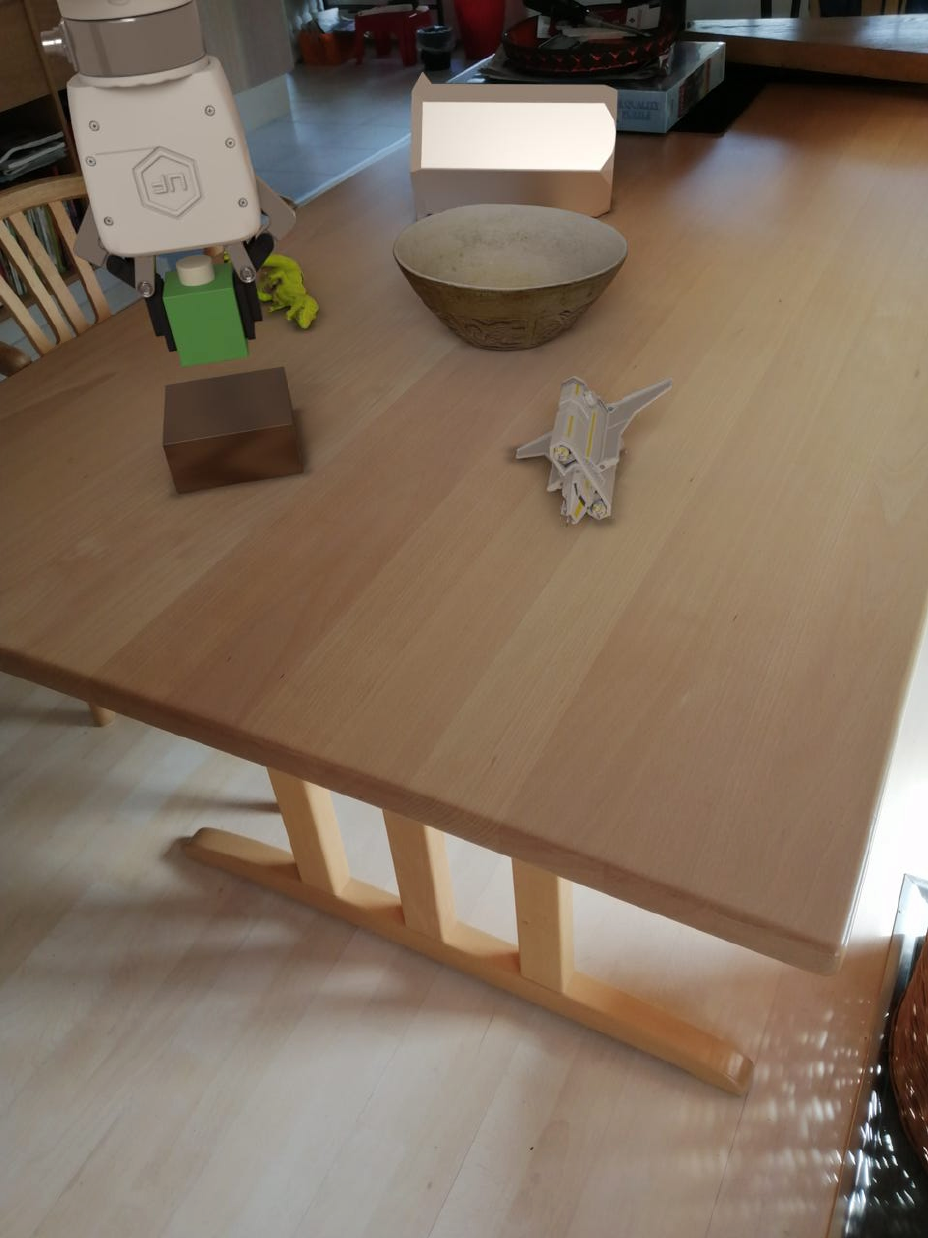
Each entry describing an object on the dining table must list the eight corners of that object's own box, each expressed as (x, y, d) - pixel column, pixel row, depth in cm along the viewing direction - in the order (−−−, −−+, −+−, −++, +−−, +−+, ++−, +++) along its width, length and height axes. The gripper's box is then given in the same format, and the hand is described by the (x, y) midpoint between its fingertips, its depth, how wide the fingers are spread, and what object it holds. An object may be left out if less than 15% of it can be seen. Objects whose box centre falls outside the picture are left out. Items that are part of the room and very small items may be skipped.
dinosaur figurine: (190, 290, 122) (177, 239, 118) (265, 267, 126) (255, 216, 122) (264, 344, 109) (252, 288, 105) (345, 316, 113) (337, 262, 109)
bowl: (639, 287, 113) (643, 196, 106) (606, 389, 96) (608, 288, 89) (439, 280, 119) (431, 193, 112) (374, 375, 102) (361, 278, 95)
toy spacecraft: (541, 479, 91) (694, 411, 84) (518, 588, 80) (692, 521, 73) (494, 410, 87) (650, 333, 80) (463, 515, 76) (641, 436, 69)
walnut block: (177, 494, 87) (162, 444, 84) (179, 432, 96) (165, 384, 92) (302, 472, 88) (292, 423, 85) (293, 413, 97) (284, 365, 93)
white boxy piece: (422, 249, 137) (404, 143, 119) (433, 154, 142) (418, 39, 125) (606, 252, 135) (616, 145, 117) (610, 156, 140) (620, 39, 122)
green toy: (181, 367, 69) (157, 279, 65) (183, 339, 72) (160, 253, 68) (249, 357, 69) (228, 269, 65) (247, 329, 72) (228, 244, 68)
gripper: (-23, 76, 54) (85, 380, 66) (286, 38, 56) (337, 342, 68) (-1, 47, 60) (95, 333, 72) (280, 13, 62) (328, 298, 74)
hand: (212, 334), depth 70 cm, fingers closed on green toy, 4 cm apart
